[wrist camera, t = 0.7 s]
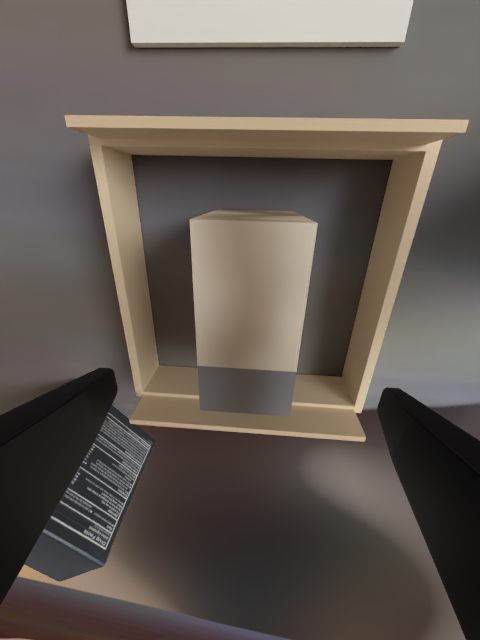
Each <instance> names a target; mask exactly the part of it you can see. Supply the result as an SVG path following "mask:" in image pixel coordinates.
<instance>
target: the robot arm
mask: <svg viewBox="0 0 480 640" xmlns="http://www.w3.org/2000/svg"><path fill="white" fill-rule="evenodd" d="M116 394H117V383H116V379H115V374H114V371H113V370H112V369H111V368H98V369H96V370H94V371H92V372H90V373H88V374H86V375H84V376H81V377H79V378H77V379H75V380H73V381H71V382H69V383H67V384H65V385H63V386H61V387H58V388H56V389H54V390H52V391H50V392H48V393H46V394H44V395H42V396H40V397H38V398H35V399H33V400H31V401H29V402H27V403H25V404H23V405H21V406H19V407H17V408H15V409H12V410H10V411H8V412H6V413H4V414H2V415H0V605H1V603H2V602H3V600H4V598H5V596H6V595H7V593H8V591H9V589H10V588H11V586H12V584H13V582H14V581H15V579H16V577H17V576H18V574H19V572H20V570H21V569H22V567H23V565H24V563H25V562H26V560H27V558H28V556H29V555H30V553H31V551H32V549H33V548H34V546H35V544H36V543H37V541H38V539H39V537H40V536H41V534H42V532H43V530H44V529H45V527H46V525H47V523H48V522H49V520H50V518H51V516H52V515H53V513H54V511H55V510H56V508H57V506H58V504H59V503H60V501H61V499H62V497H63V496H64V494H65V492H66V490H67V489H68V487H69V485H70V483H71V482H72V480H73V478H74V477H75V475H76V473H77V471H78V470H79V468H80V466H81V464H82V463H83V461H84V459H85V457H86V456H87V454H88V452H89V450H90V449H91V447H92V445H93V444H94V442H95V440H96V438H97V436H98V434H99V432H100V430H101V428H102V426H103V424H104V421H105V419H106V417H107V415H108V412H109V410H110V408H111V406H112V404H113V401H114V399H115V397H116ZM377 411H378V416H379V419H380V423H381V426H382V430H383V433H384V436H385V440H386V443H387V446H388V450H389V453H390V456H391V459H392V462H393V464H394V467H395V470H396V472H397V474H398V476H399V479H400V482H401V484H402V486H403V489H404V491H405V494H406V496H407V498H408V501H409V503H410V506H411V508H412V510H413V513H414V515H415V518H416V520H417V522H418V525H419V527H420V530H421V532H422V535H423V536H424V539H425V542H426V544H427V547H428V549H429V551H430V554H431V556H432V559H433V561H434V563H435V566H436V568H437V571H438V573H439V576H440V578H441V580H442V583H443V585H444V588H445V590H446V592H447V595H448V597H449V599H450V602H451V604H452V607H453V609H454V612H455V614H456V616H457V619H458V621H459V624H460V626H461V628H462V631H463V633H464V636H465V638H466V640H480V441H479V440H478V439H476V438H475V437H473V436H472V435H470V434H468V433H467V432H465V431H464V430H462V429H461V428H459V427H458V426H456V425H454V424H453V423H452V422H450V421H449V420H447V419H445V418H444V417H442V416H441V415H439V414H438V413H436V412H434V411H433V410H431V409H430V408H429V407H427V406H425V405H424V404H422V403H421V402H419V401H418V400H416V399H415V398H413V397H412V396H410V395H409V394H407V393H405V392H404V391H402V390H401V389H399V388H388V387H387V388H385V389H384V390H383V392H382V395H381V398H380V401H379V404H378V409H377Z"/></svg>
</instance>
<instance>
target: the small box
mask: <svg viewBox="0 0 480 640" xmlns="http://www.w3.org/2000/svg"><path fill="white" fill-rule="evenodd" d="M155 444H156V441H155V440H154V439H152V438H151V437H150V436H149V435H148V434H146V433H145V432H144V431H143V430H141V429H140V428H139V427H138V426H136V425H135V424H130V421H129V419H128V418H126V417H125V416H124V415H123V414H121V413H120V412H119V411H118V410H116V409H115V408H114V407H113V406H111V408H110V410H109V412H108V415H107V417H106V419H105V421H104V424H103V426H102V428H101V430H100V432H99V434H98V436H97V438H96V440H95V442H94V444H93V445H92V447H91V449H90V450H89V452H88V454H87V456H86V457H85V459H84V461H83V463H82V464H81V466H80V468H79V470H78V471H77V473H76V475H75V477H74V478H73V480H72V482H71V483H70V485H69V487H68V489H67V490H66V492H65V494H64V496H63V497H62V499H61V501H60V503H59V504H58V506H57V508H56V510H55V511H54V513H53V515H52V516H51V518H50V520H49V522H48V523H47V525H46V527H45V529H44V530H43V532H42V534H41V536H40V537H39V539H38V541H37V543H36V544H35V546H34V548H33V549H32V551H31V553H30V555H29V556H28V558H27V560H26V562H25V563H24V564H25V565H27V566H29V567H31V568H33V569H35V570H37V571H39V572H41V573H43V574H45V575H47V576H49V577H51V578H53V579H55V580H57V581H63V580H66V579H69V578H72V577H74V576H77V575H80V574H82V573H85V572H88V571H91V570H94V569H97V568H100V567H103V566H104V565H105V563H106V561H107V558H108V556H109V553H110V550H111V546H112V544H113V542H114V540H115V538H116V535H117V532H118V530H119V527H120V525H121V523H122V521H123V517H124V515H125V513H126V511H127V508H128V507H129V504H130V502H131V499H132V497H133V494H134V492H135V490H136V488H137V485H138V483H139V481H140V478H141V476H142V473H143V471H144V469H145V467H146V464H147V461H148V459H149V457H150V454H151V452H152V450H153V448H154V447H155Z"/></svg>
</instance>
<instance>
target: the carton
mask: <svg viewBox="0 0 480 640" xmlns="http://www.w3.org/2000/svg"><path fill="white" fill-rule="evenodd" d="M65 120H66V125H67V127H68V128H71V129H74V130H77V131H80V132H83V133H86V134H88V139H89V145H90V150H91V155H92V161H93V166H94V171H95V177H96V182H97V188H98V193H99V198H100V204H101V209H102V214H103V220H104V225H105V230H106V236H107V241H108V246H109V252H110V257H111V263H112V268H113V273H114V279H115V284H116V289H117V295H118V300H119V305H120V311H121V316H122V321H123V327H124V332H125V338H126V343H127V348H128V354H129V359H130V364H131V370H132V375H133V380H134V386H135V391H136V396H137V397H141V400H140V402H139V404H138V405H137V407H136V409H135V410H134V412H133V414H132V415H131V417H130V419H129V421H130V424H140V425H153V426H167V427H179V428H192V429H193V428H194V429H205V430H218V431H219V430H220V431H233V432H245V433H258V434H271V435H285V436H298V437H311V438H323V439H337V440H350V441H363V442H364V441H365V439H366V437H365V434H364V432H363V429H362V427H361V425H360V423H359V420H358V418H357V416H356V413H361V412H362V409H363V405H364V402H365V399H366V395H367V392H368V389H369V385H370V382H371V379H372V375H373V372H374V369H375V365H376V362H377V358H378V355H379V352H380V348H381V345H382V342H383V338H384V335H385V332H386V328H387V325H388V322H389V318H390V315H391V311H392V308H393V305H394V301H395V298H396V295H397V291H398V288H399V285H400V281H401V278H402V275H403V271H404V268H405V265H406V261H407V258H408V254H409V251H410V248H411V244H412V241H413V238H414V234H415V231H416V228H417V224H418V221H419V218H420V214H421V211H422V207H423V204H424V201H425V197H426V194H427V191H428V187H429V184H430V181H431V177H432V174H433V171H434V167H435V164H436V161H437V157H438V154H439V150H440V147H441V144H442V140H443V139H446V138H449V137H452V136H456V135H459V134H462V133H465V132H466V129H467V126H468V123H469V120H438V119H352V118H266V117H180V116H94V115H65ZM131 155H169V156H219V157H270V158H320V159H371V160H393V162H392V166H391V170H390V175H389V179H388V183H387V187H386V192H385V196H384V200H383V204H382V208H381V213H380V217H379V221H378V225H377V230H376V234H375V238H374V242H373V247H372V251H371V255H370V259H369V263H368V268H367V272H366V276H365V280H364V285H363V289H362V293H361V297H360V301H359V306H358V310H357V314H356V318H355V323H354V327H353V331H352V335H351V340H350V344H349V348H348V352H347V356H346V361H345V365H344V369H343V373H342V377H336V376H320V375H305V374H296V379H295V386H294V393H293V400H292V407H291V414H290V417H287V416H274V415H260V414H246V413H232V412H219V411H205V410H200V403H199V385H198V368H194V367H179V366H163V365H159V362H158V354H157V347H156V339H155V331H154V324H153V316H152V309H151V301H150V293H149V286H148V278H147V270H146V263H145V255H144V247H143V240H142V232H141V224H140V217H139V209H138V201H137V194H136V186H135V178H134V171H133V163H132V156H131Z"/></svg>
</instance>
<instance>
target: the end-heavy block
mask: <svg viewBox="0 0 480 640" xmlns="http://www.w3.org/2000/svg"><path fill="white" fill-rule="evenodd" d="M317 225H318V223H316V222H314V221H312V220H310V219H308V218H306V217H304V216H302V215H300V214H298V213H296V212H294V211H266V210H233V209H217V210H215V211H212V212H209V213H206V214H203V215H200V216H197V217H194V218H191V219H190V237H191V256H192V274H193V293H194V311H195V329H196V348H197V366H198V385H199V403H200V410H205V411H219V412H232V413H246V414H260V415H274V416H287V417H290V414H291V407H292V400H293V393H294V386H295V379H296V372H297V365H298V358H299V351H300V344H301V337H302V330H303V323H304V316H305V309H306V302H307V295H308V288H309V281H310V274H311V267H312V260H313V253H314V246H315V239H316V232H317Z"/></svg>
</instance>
